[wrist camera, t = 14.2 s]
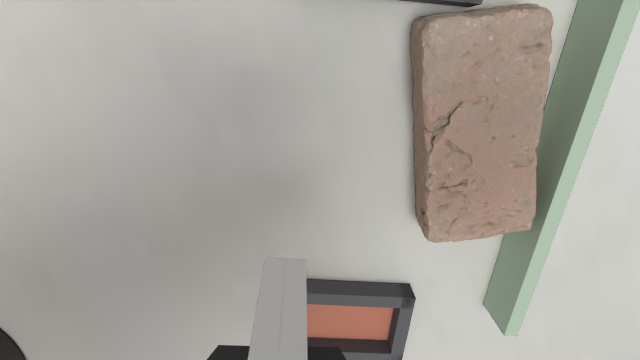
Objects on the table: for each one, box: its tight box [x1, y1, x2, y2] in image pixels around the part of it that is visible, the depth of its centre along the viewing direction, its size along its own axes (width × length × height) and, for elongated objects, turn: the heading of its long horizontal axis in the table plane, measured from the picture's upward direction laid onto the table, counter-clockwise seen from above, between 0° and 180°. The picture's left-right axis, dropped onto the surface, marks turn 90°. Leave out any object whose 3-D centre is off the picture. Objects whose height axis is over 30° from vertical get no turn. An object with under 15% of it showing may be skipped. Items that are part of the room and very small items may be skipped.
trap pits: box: [306, 0, 482, 360], centre depth 28 cm, size 12×40×2 cm, turn 175°
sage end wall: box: [483, 0, 640, 336], centre depth 28 cm, size 1×28×4 cm, turn 176°
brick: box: [410, 4, 553, 242], centre depth 26 cm, size 17×8×5 cm, turn 7°
